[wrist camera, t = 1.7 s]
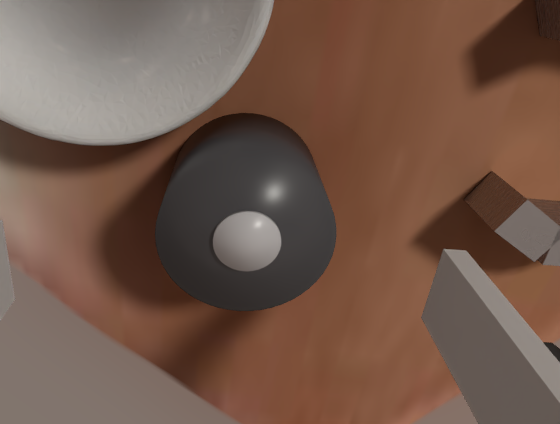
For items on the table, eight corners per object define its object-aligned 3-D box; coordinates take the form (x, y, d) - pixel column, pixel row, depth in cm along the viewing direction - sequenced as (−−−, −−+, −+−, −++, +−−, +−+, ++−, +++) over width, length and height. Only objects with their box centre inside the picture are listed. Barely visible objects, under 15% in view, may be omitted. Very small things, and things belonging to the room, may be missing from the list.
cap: (175, 105, 19) (154, 148, 14) (327, 121, 20) (353, 167, 15) (172, 238, 22) (153, 310, 17) (304, 247, 23) (321, 318, 18)
